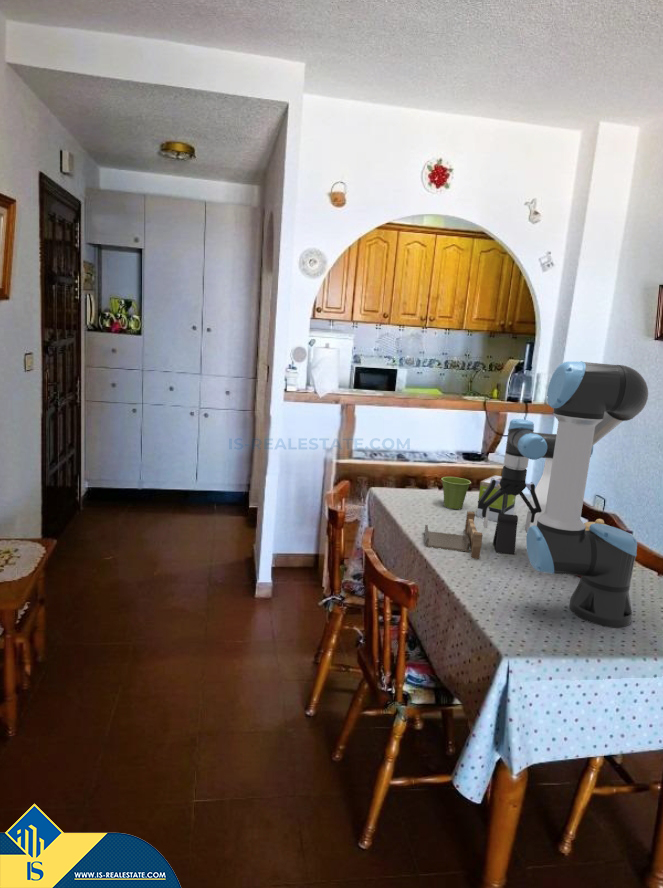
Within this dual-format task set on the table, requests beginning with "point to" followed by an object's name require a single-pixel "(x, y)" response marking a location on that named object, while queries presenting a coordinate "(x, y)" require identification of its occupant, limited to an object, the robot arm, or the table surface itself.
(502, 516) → the phone stand
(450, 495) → the plant pot
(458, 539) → the keeper plate
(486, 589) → the table surface
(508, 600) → the table surface
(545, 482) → the wine bottle
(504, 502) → the tea box
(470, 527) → the door pull handle
